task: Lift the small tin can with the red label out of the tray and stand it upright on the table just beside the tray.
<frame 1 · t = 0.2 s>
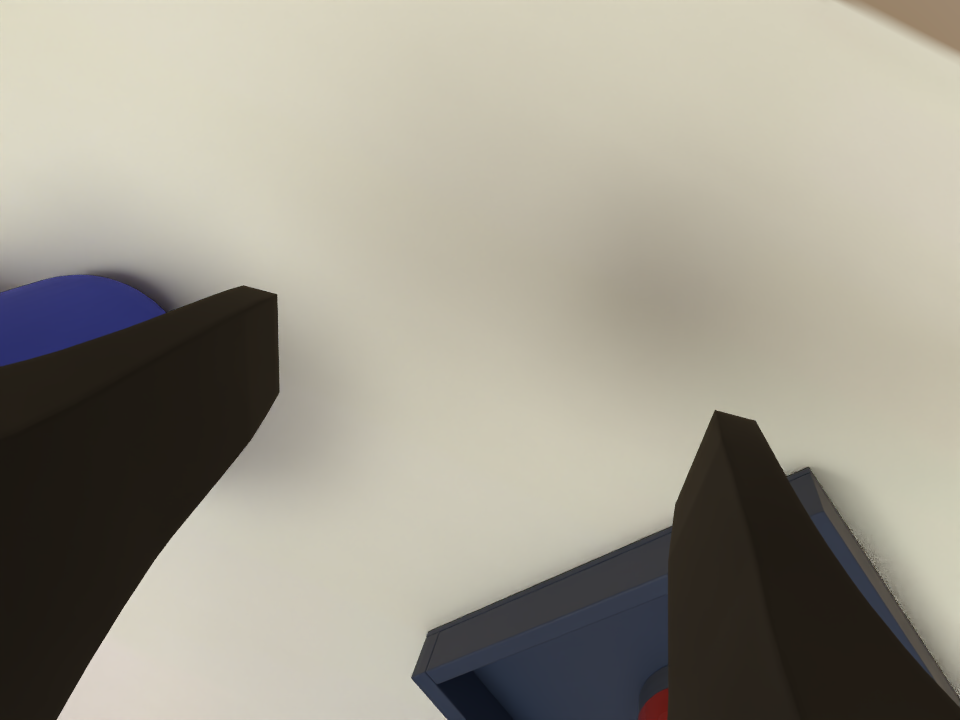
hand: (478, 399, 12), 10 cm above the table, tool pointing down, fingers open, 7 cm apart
mug: (81, 330, 26), on the table
tray: (703, 700, 27), on the table
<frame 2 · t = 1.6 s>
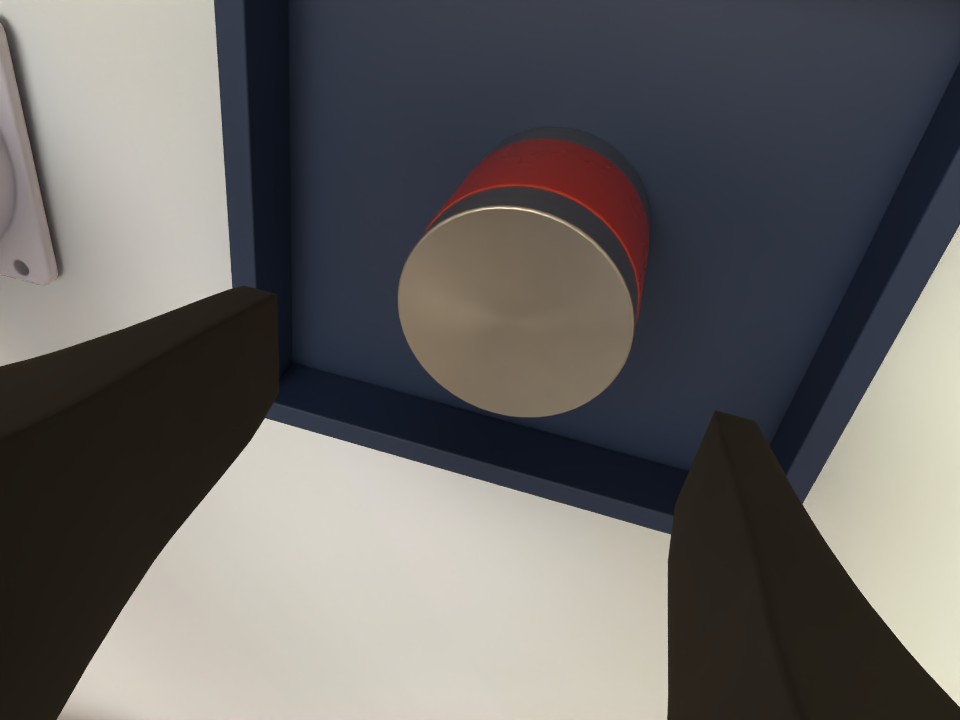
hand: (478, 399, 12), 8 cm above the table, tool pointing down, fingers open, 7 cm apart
tin can: (535, 264, 16), in the tray
tray: (556, 216, 18), on the table
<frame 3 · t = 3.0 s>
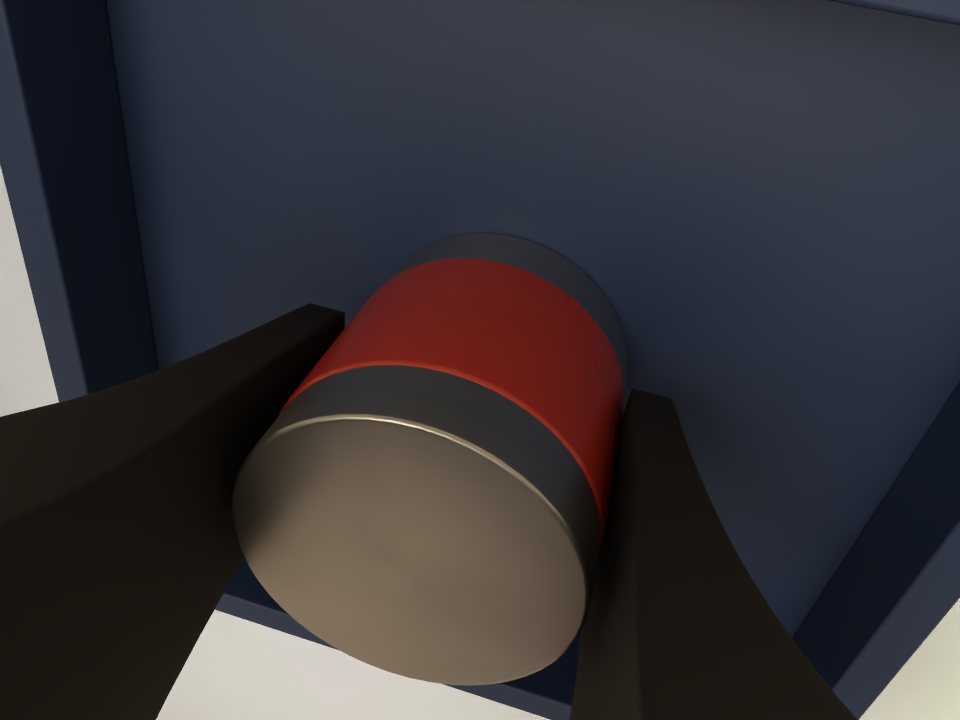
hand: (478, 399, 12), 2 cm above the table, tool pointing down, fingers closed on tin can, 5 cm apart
tin can: (457, 440, 11), in the tray, touching gripper
tray: (502, 345, 13), on the table
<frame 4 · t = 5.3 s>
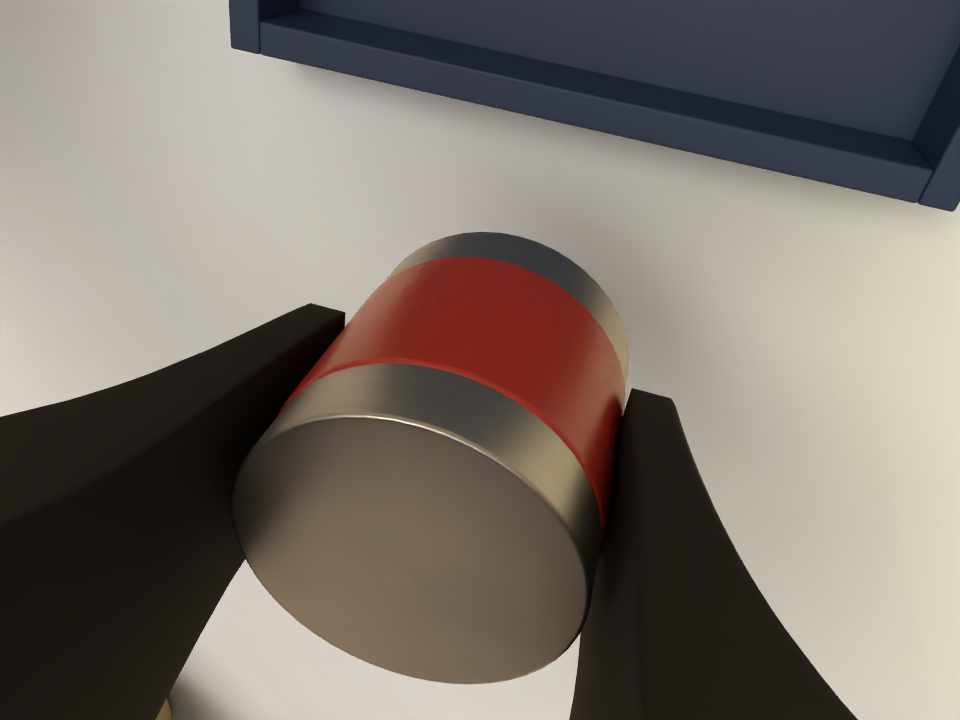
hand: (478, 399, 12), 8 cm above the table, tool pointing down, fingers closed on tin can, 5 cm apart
tin can: (458, 439, 11), point 10 cm above the table, touching gripper
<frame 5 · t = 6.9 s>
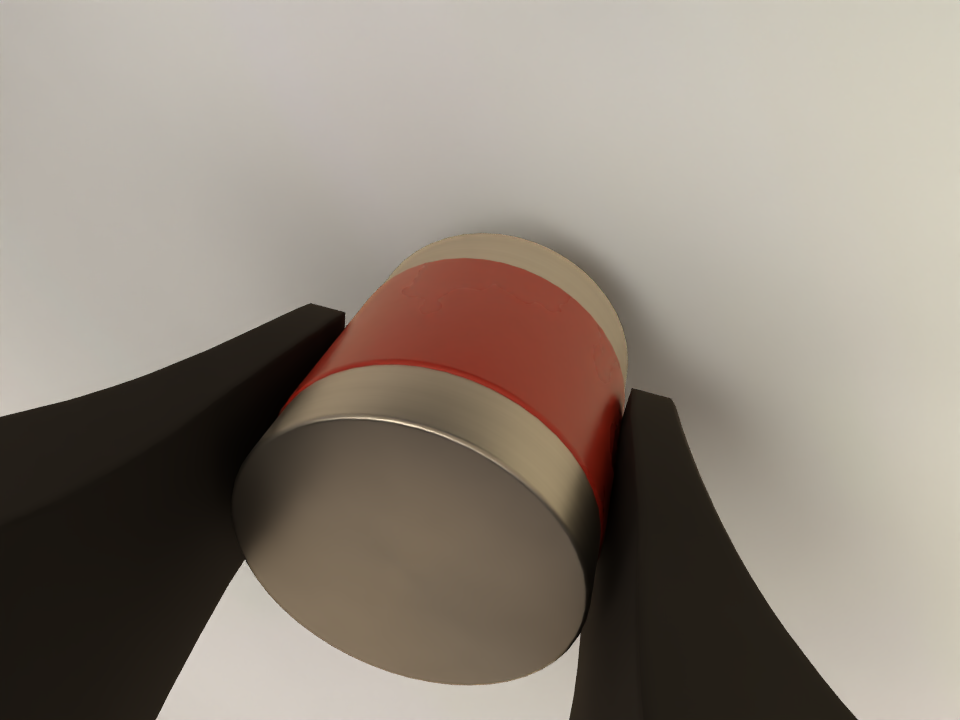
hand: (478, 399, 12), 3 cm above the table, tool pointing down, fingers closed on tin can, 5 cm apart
tin can: (457, 440, 11), point 4 cm above the table, touching gripper
when the fingers open (1 cm above the table, at t = 7.9 s): tin can stays where it is, on the table.
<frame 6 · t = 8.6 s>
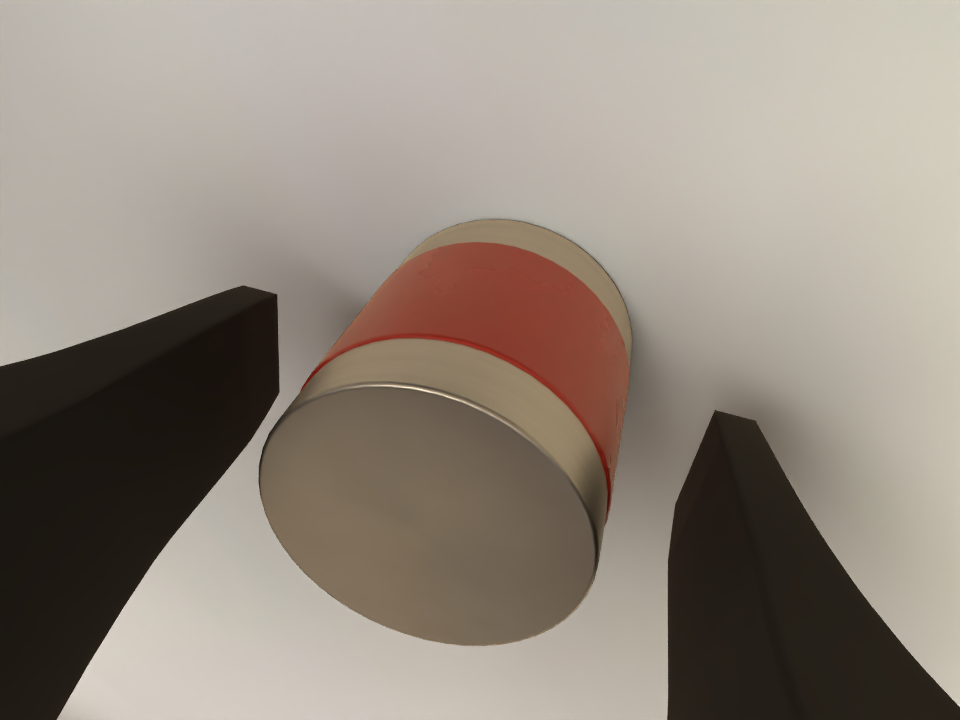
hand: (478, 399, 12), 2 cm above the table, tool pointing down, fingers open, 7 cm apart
tin can: (470, 416, 12), on the table
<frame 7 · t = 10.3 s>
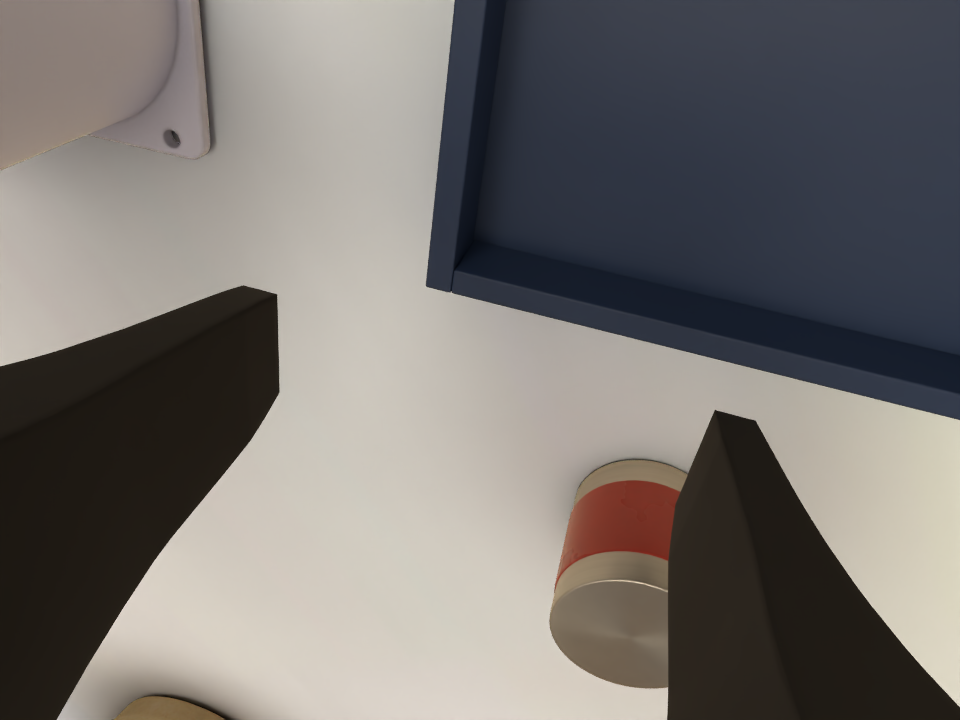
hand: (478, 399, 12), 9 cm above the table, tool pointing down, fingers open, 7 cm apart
tin can: (637, 569, 23), on the table
tray: (822, 37, 16), on the table
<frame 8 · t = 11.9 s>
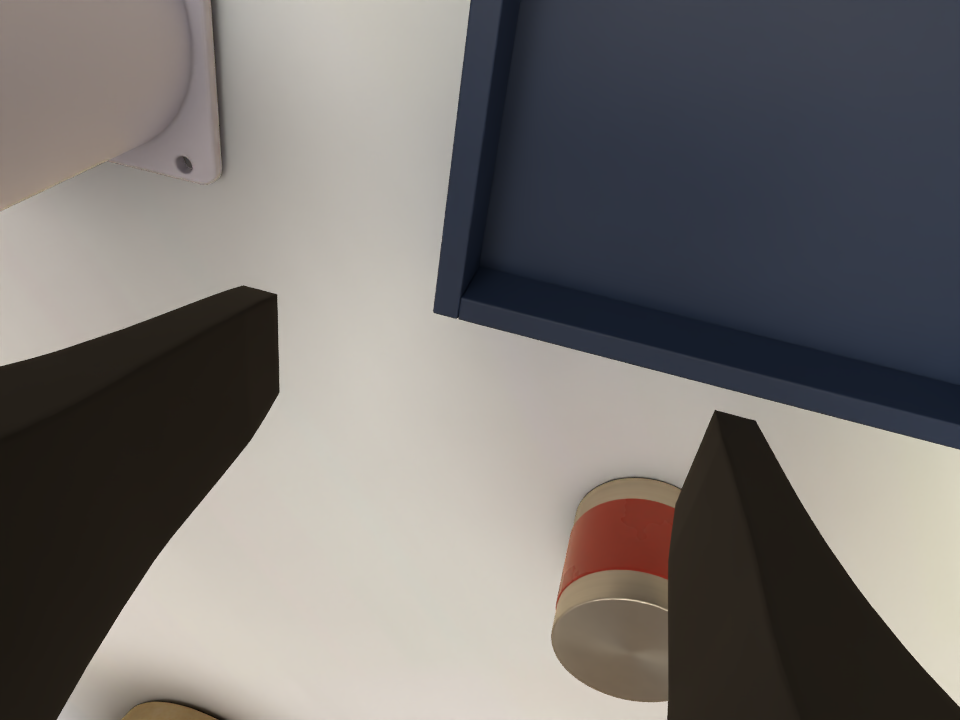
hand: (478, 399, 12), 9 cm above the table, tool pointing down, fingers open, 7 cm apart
tin can: (636, 585, 23), on the table
tray: (820, 79, 17), on the table
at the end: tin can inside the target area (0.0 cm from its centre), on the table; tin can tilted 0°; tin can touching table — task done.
